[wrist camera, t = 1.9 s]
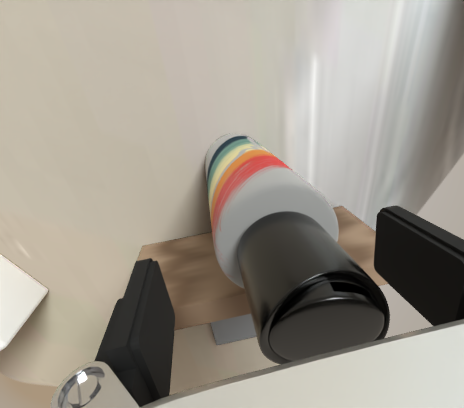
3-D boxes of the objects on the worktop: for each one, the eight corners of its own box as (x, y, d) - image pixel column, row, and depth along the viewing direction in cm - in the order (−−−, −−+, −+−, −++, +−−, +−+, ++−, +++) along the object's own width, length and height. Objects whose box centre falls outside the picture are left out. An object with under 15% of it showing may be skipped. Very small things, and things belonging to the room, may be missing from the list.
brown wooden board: (342, 206, 28) (410, 258, 19) (341, 221, 29) (407, 279, 20) (142, 245, 27) (115, 321, 18) (148, 261, 28) (124, 341, 19)
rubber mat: (299, 245, 30) (302, 249, 29) (304, 320, 35) (306, 325, 34) (196, 266, 29) (196, 270, 29) (216, 340, 34) (216, 345, 33)
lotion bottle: (272, 144, 25) (478, 281, 7) (250, 196, 27) (364, 418, 8) (216, 123, 24) (281, 223, 5) (197, 180, 25) (196, 401, 7)
